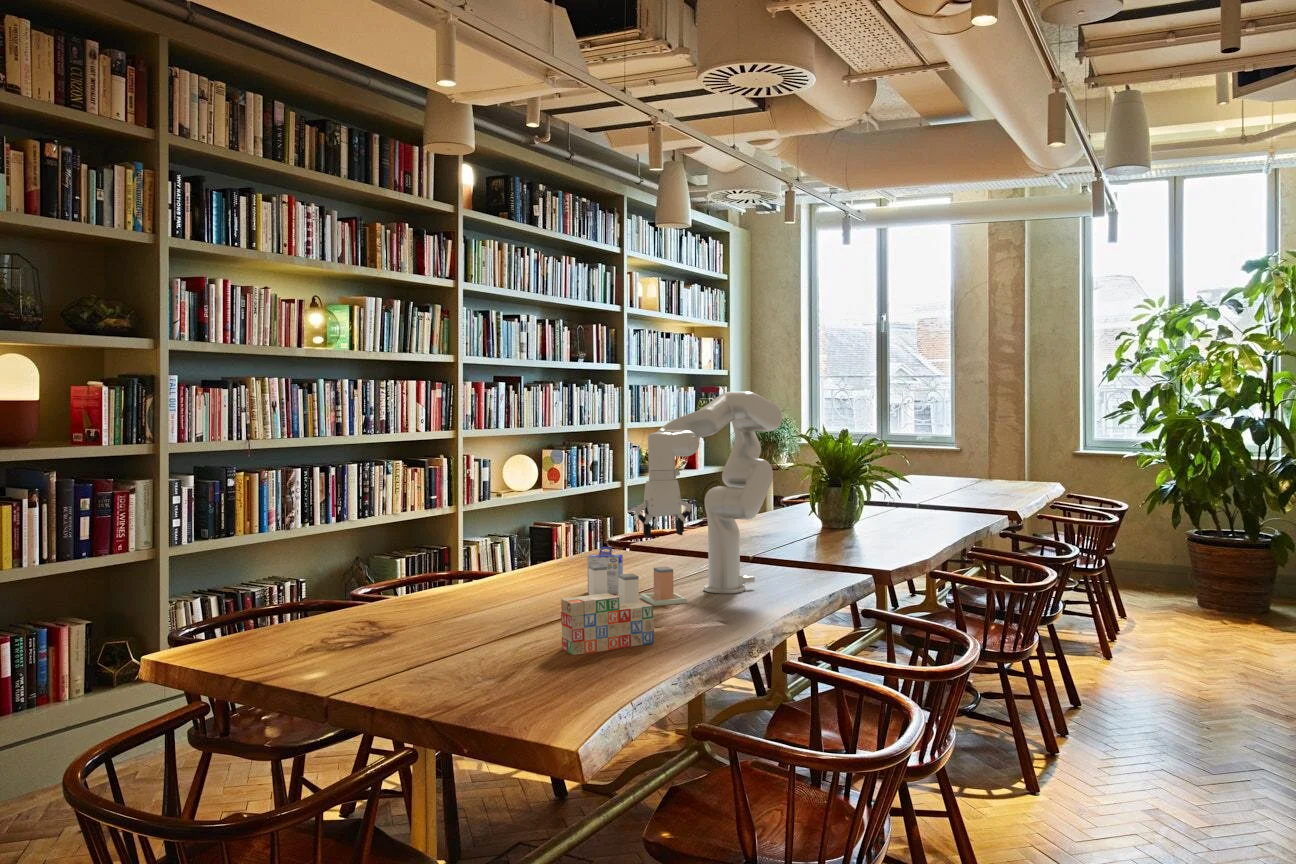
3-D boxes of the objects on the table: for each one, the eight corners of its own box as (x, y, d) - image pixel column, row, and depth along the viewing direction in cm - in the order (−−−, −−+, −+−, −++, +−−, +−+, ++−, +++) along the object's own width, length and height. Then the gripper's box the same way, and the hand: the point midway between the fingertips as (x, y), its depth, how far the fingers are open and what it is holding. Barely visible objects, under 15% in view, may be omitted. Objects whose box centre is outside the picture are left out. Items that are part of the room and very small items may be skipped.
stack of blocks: (642, 638, 247) (641, 588, 247) (654, 644, 242) (653, 593, 241) (561, 649, 237) (560, 597, 237) (572, 655, 232) (571, 602, 231)
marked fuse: (666, 600, 290) (666, 566, 290) (673, 603, 285) (673, 569, 285) (653, 601, 289) (653, 567, 288) (660, 604, 284) (660, 570, 284)
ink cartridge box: (623, 594, 303) (623, 546, 302) (619, 598, 297) (619, 549, 297) (591, 593, 305) (591, 545, 304) (587, 597, 299) (586, 548, 299)
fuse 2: (632, 609, 277) (632, 573, 276) (638, 612, 272) (638, 576, 272) (618, 610, 275) (618, 574, 275) (624, 613, 271) (624, 577, 270)
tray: (671, 599, 294) (671, 591, 294) (686, 607, 283) (686, 598, 283) (640, 602, 291) (640, 593, 291) (654, 610, 280) (654, 601, 280)
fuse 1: (602, 598, 293) (601, 564, 292) (607, 601, 288) (607, 566, 288) (588, 599, 291) (588, 565, 291) (594, 602, 286) (593, 567, 286)
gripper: (685, 473, 292) (686, 531, 293) (628, 476, 286) (630, 536, 287) (695, 475, 285) (697, 535, 286) (637, 478, 279) (639, 540, 280)
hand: (663, 536), depth 287 cm, fingers open, 9 cm apart
